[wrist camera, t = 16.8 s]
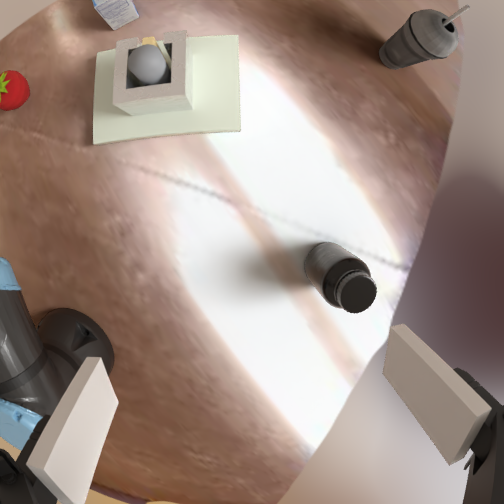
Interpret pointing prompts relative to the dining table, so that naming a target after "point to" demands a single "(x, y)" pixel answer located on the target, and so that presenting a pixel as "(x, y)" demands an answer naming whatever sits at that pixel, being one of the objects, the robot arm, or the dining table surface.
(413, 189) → the dining table surface
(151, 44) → the shaft stand
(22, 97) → the strawberry
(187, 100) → the keyed collar
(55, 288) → the dining table surface
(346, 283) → the supplement bottle
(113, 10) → the medicine box
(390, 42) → the beverage cup
